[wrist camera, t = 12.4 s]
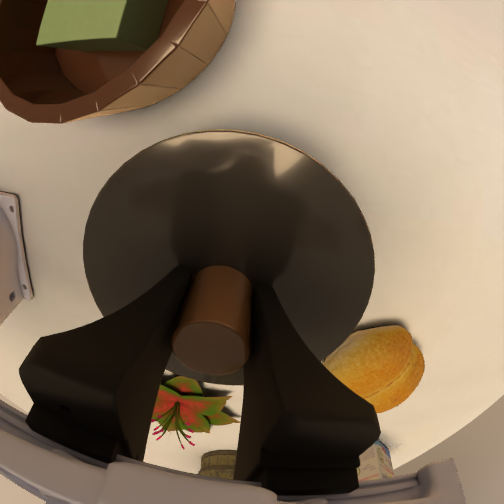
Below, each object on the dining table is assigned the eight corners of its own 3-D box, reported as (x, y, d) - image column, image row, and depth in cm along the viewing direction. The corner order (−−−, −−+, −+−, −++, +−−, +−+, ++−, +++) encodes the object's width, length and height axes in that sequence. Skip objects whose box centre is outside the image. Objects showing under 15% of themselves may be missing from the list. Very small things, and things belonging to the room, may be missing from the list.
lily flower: (97, 371, 25) (80, 407, 21) (198, 348, 22) (187, 395, 18) (167, 433, 30) (159, 465, 26) (261, 421, 27) (260, 459, 23)
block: (154, 52, 12) (116, 38, 8) (84, 52, 12) (35, 45, 8) (175, -20, 10) (146, -53, 6) (103, -16, 10) (61, -37, 6)
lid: (311, 383, 17) (318, 447, 13) (102, 339, 16) (73, 397, 12) (409, 178, 11) (470, 220, 7) (100, 108, 10) (28, 120, 6)
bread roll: (389, 301, 19) (409, 340, 16) (426, 358, 22) (441, 391, 19) (296, 359, 22) (300, 400, 19) (350, 401, 25) (357, 436, 22)
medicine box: (389, 448, 32) (399, 500, 24) (360, 459, 33) (367, 510, 25) (372, 433, 29) (384, 494, 21) (339, 445, 30) (346, 506, 22)
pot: (207, 124, 15) (176, 136, 9) (37, 108, 14) (-29, 123, 8) (257, -58, 9) (254, -116, 4) (78, -49, 8) (26, -75, 3)
